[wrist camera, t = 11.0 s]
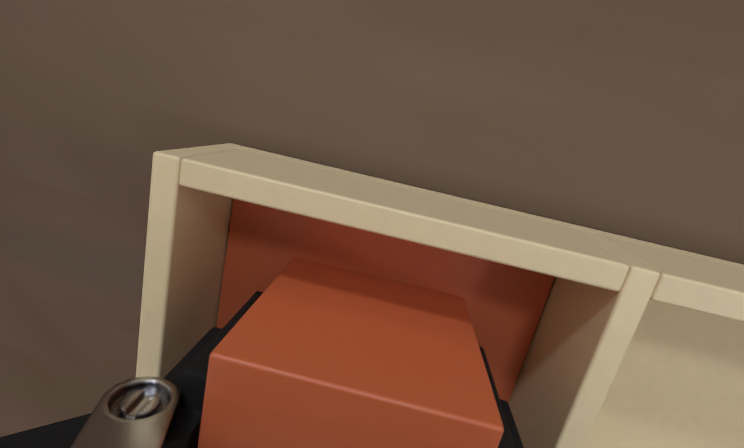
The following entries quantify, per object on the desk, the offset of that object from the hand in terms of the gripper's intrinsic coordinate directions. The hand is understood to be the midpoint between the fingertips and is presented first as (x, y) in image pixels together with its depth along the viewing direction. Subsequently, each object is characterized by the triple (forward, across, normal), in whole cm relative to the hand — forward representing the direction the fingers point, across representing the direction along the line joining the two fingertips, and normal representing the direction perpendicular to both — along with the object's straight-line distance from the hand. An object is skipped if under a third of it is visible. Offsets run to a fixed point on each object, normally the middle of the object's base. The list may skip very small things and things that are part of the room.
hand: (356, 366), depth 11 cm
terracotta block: (+1, 0, 0) cm, 1 cm away
